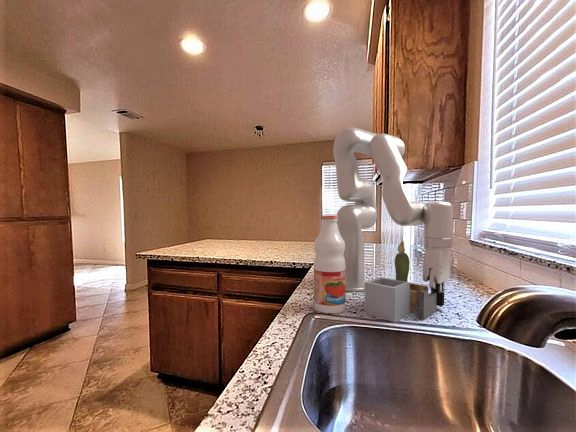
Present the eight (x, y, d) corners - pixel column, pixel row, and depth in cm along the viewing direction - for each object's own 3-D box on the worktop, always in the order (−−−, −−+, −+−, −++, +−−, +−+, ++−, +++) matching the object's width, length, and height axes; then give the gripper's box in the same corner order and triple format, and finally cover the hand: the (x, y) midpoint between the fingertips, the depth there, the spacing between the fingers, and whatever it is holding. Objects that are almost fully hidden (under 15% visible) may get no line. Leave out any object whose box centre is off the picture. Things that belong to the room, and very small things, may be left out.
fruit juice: (327, 301, 92) (327, 215, 92) (351, 309, 85) (352, 215, 85) (307, 308, 86) (307, 215, 85) (331, 317, 79) (331, 215, 78)
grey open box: (364, 313, 81) (364, 282, 81) (380, 306, 88) (380, 277, 88) (395, 322, 75) (395, 288, 75) (409, 313, 81) (409, 282, 81)
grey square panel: (419, 319, 77) (419, 291, 77) (432, 310, 84) (432, 285, 84) (423, 320, 76) (423, 292, 76) (436, 311, 83) (436, 286, 83)
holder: (380, 303, 90) (380, 284, 90) (394, 297, 97) (394, 279, 96) (415, 312, 82) (415, 291, 82) (428, 305, 89) (428, 285, 89)
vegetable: (394, 301, 93) (395, 239, 92) (409, 302, 91) (409, 240, 91) (394, 305, 89) (394, 240, 88) (409, 307, 87) (409, 241, 87)
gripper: (433, 240, 93) (433, 296, 93) (415, 244, 82) (414, 307, 83) (459, 242, 87) (459, 302, 88) (443, 246, 77) (442, 314, 77)
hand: (437, 304), depth 85 cm, fingers closed
